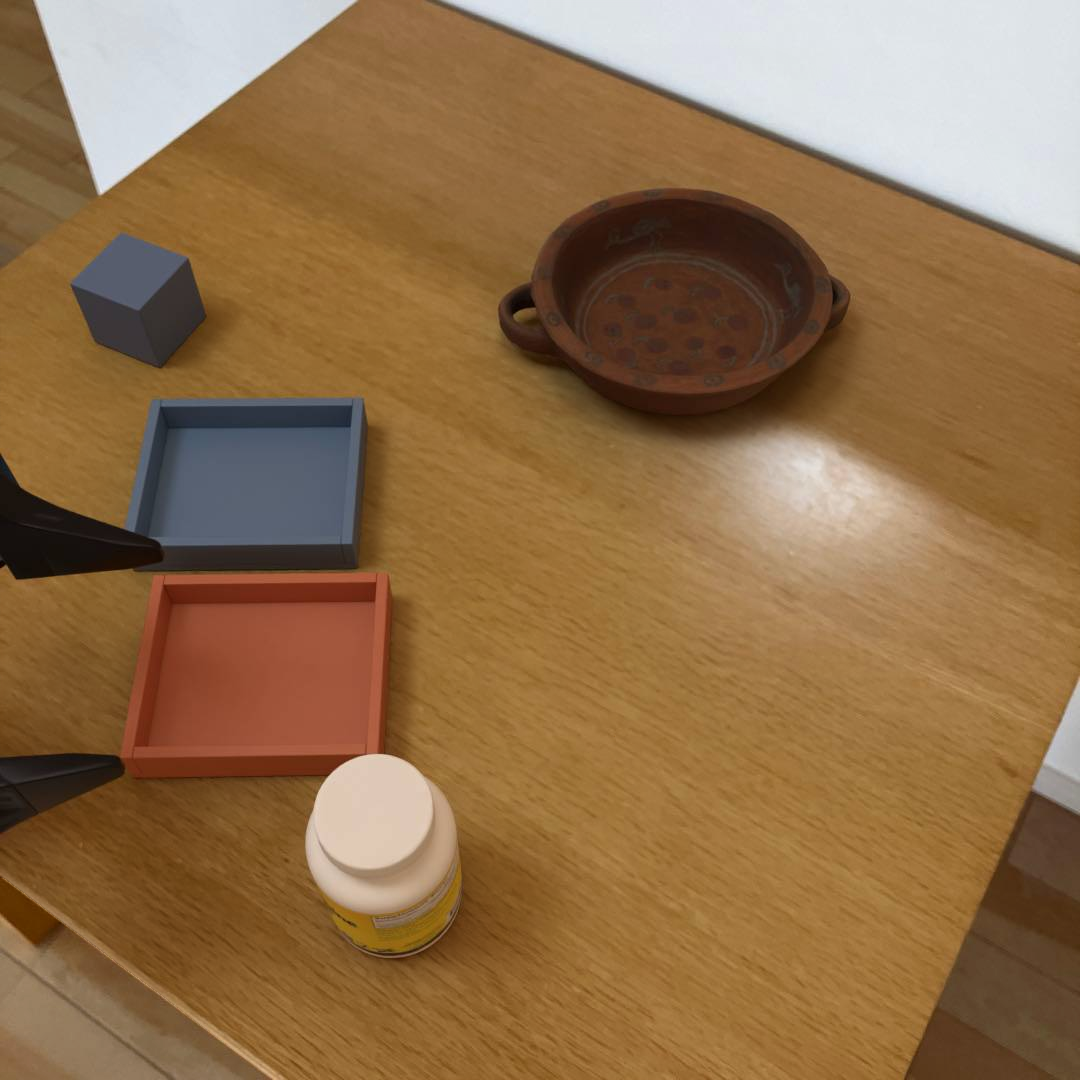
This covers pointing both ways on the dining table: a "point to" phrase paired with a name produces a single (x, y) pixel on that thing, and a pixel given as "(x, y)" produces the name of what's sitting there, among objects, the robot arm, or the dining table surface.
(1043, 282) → the dining table surface
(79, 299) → the blue block
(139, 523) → the blue tray
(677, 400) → the dish
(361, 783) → the pill bottle
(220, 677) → the terracotta tray
